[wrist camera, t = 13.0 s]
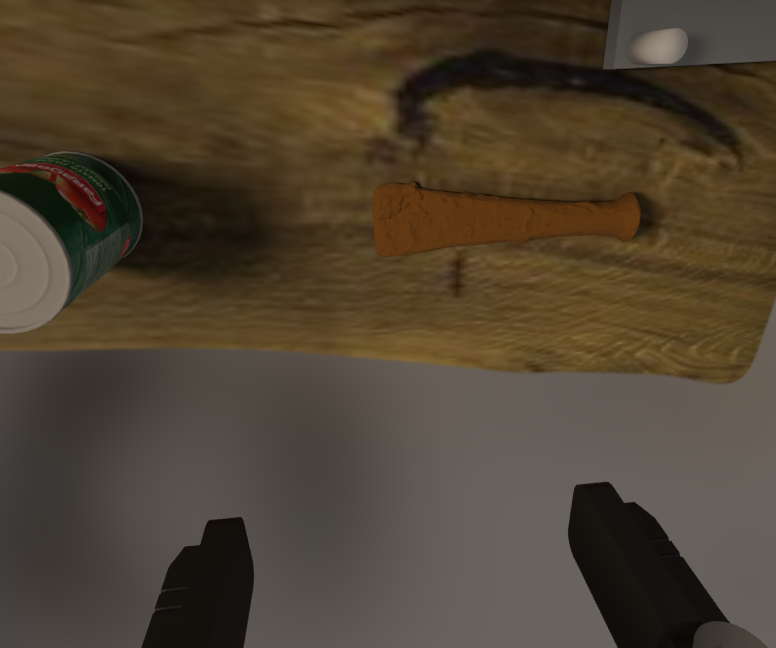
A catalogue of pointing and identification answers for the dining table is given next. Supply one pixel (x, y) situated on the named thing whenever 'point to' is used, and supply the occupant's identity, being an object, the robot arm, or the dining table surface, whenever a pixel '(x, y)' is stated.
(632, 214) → the primitive tool
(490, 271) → the dining table surface
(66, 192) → the canned tomato
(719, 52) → the peg board
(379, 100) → the dining table surface
